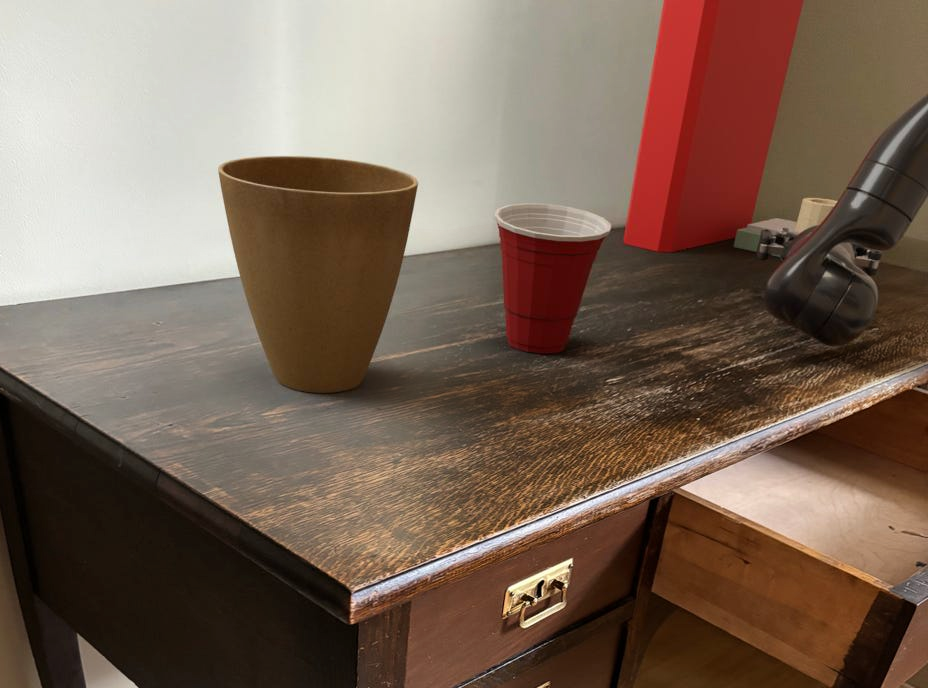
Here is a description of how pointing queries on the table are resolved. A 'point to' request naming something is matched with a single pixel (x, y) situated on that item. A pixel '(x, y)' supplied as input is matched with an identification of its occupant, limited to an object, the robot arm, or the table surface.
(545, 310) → the plastic cup
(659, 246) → the book
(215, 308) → the table surface
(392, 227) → the plant pot
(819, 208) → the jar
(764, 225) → the scale
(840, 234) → the robot arm
